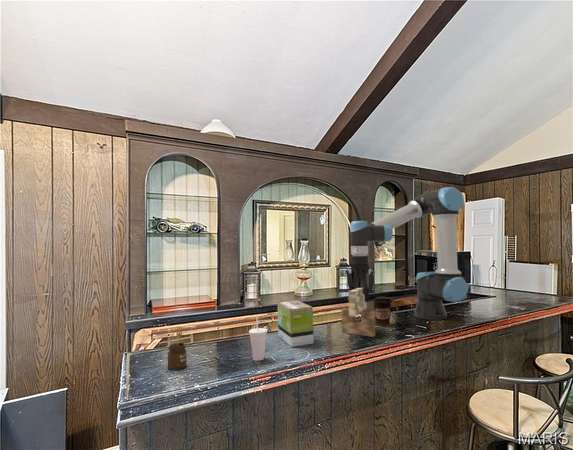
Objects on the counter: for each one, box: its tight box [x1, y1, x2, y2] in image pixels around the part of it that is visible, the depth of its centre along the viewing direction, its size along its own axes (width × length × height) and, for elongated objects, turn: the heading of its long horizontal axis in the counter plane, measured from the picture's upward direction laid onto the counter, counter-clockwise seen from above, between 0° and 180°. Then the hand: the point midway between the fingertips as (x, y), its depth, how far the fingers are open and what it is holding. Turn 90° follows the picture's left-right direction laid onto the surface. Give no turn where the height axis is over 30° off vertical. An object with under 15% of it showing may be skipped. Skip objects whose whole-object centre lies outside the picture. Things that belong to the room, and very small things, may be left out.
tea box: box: [277, 300, 315, 348], centre depth 131 cm, size 15×10×15 cm, turn 22°
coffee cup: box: [373, 296, 392, 327], centre depth 151 cm, size 9×8×13 cm
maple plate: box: [347, 286, 367, 317], centre depth 138 cm, size 13×2×10 cm, turn 146°
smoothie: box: [248, 316, 268, 362], centre depth 111 cm, size 6×6×14 cm
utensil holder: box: [167, 326, 188, 371], centre depth 105 cm, size 6×6×12 cm
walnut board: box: [341, 308, 376, 338], centre depth 138 cm, size 14×2×10 cm, turn 56°
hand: (361, 308), depth 142 cm, fingers closed on maple plate, 2 cm apart
